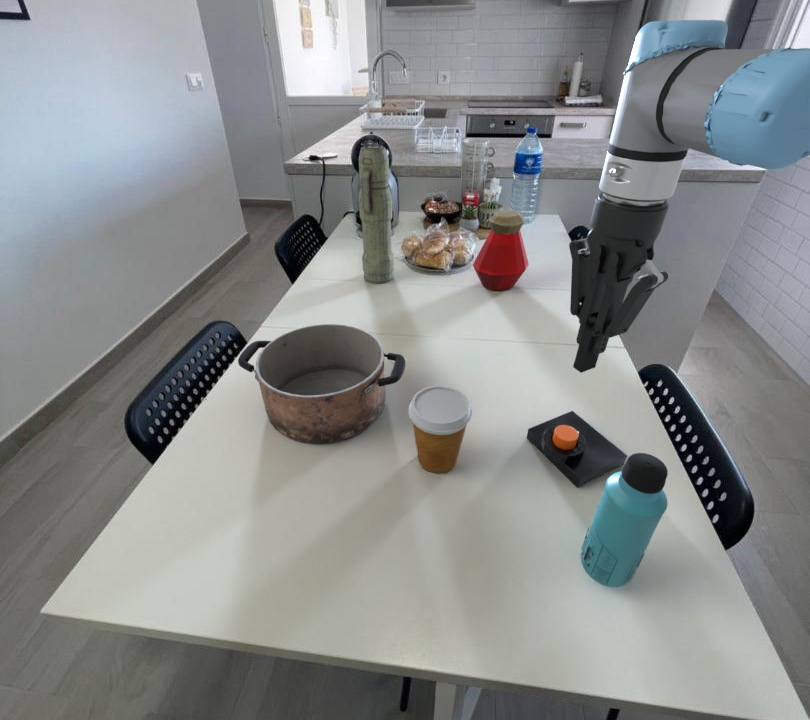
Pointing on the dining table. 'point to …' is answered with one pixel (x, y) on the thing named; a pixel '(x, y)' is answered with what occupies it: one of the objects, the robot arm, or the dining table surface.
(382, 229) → the thermos
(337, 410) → the cooking pot
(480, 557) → the dining table surface
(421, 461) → the disposable coffee cup
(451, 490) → the dining table surface
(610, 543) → the beverage bottle
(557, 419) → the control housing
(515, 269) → the bottle
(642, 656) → the dining table surface
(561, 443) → the button
